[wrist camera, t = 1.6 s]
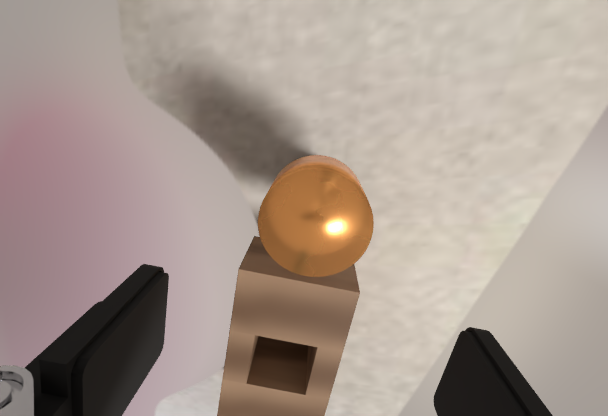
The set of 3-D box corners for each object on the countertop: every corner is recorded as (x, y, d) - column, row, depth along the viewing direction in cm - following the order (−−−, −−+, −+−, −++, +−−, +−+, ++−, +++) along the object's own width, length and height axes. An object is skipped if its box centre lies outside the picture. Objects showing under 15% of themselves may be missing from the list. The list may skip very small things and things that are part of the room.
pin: (286, 137, 27) (267, 158, 17) (363, 152, 27) (387, 182, 17) (273, 210, 29) (250, 265, 19) (345, 224, 29) (357, 286, 19)
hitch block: (254, 236, 30) (238, 269, 24) (352, 255, 30) (359, 292, 24) (232, 372, 35) (215, 426, 29) (316, 388, 35) (315, 445, 29)
